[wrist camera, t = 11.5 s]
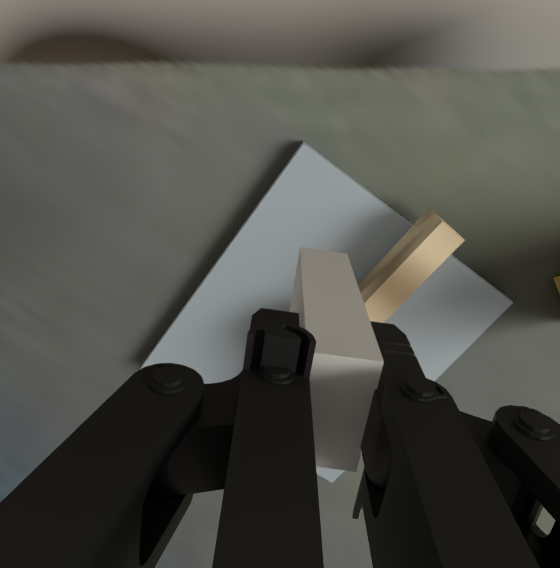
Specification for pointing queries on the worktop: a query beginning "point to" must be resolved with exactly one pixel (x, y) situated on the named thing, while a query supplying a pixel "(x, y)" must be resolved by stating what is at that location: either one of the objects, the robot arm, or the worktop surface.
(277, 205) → the board
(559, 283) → the candy box
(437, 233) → the peg knob
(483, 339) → the worktop surface
